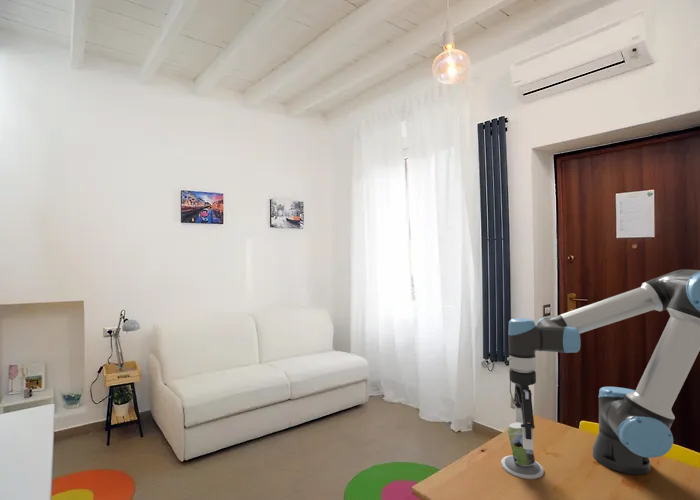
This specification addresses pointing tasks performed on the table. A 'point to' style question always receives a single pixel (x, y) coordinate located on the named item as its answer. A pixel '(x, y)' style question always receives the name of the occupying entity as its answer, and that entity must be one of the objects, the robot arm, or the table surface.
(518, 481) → the table surface
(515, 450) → the beverage can
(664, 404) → the robot arm
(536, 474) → the grey white round coaster
